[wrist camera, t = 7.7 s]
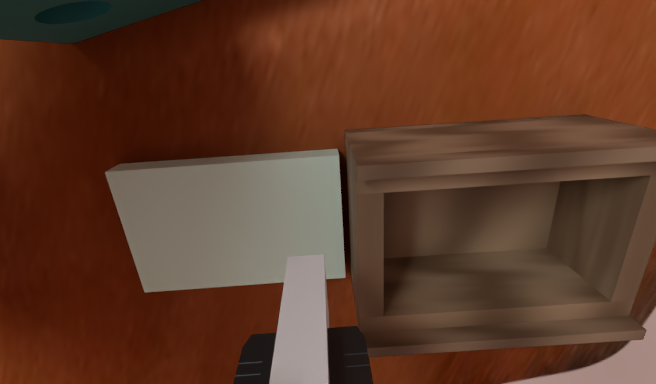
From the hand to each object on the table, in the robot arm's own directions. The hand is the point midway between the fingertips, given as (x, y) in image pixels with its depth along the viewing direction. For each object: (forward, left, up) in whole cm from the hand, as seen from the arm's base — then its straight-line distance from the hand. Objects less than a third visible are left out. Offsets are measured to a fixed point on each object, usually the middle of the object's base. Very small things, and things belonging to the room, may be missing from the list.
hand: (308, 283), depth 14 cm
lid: (-5, 0, -9) cm, 10 cm away
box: (+9, 0, -8) cm, 12 cm away
